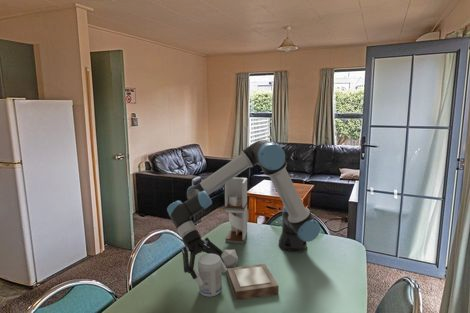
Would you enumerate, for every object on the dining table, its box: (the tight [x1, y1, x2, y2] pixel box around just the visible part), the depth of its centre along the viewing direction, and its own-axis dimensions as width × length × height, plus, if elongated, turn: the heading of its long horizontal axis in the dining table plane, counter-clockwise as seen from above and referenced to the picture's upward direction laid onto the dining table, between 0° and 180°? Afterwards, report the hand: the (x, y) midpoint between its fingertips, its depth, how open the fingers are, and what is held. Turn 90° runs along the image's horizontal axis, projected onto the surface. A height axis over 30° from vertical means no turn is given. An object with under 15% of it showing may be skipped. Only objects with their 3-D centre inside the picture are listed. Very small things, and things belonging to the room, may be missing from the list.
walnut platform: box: [226, 263, 279, 301], centre depth 135 cm, size 18×18×4 cm
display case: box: [224, 177, 248, 244], centre depth 178 cm, size 11×11×35 cm
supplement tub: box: [197, 253, 223, 298], centre depth 130 cm, size 10×10×15 cm
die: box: [221, 249, 239, 268], centre depth 151 cm, size 8×9×10 cm
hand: (213, 278), depth 129 cm, fingers open, 13 cm apart
